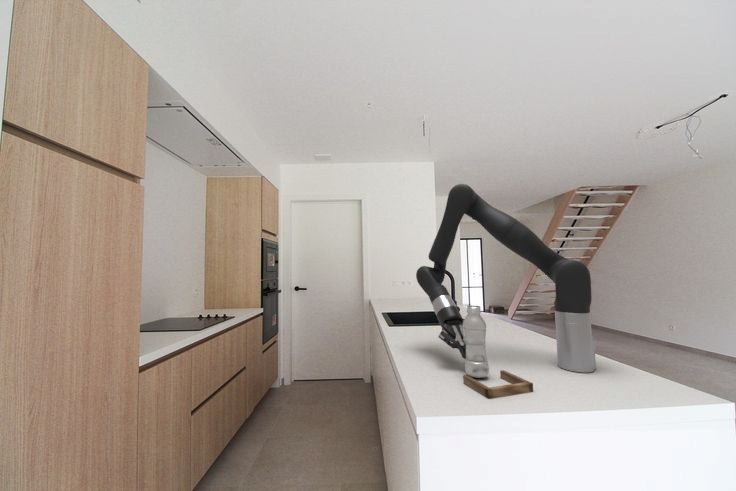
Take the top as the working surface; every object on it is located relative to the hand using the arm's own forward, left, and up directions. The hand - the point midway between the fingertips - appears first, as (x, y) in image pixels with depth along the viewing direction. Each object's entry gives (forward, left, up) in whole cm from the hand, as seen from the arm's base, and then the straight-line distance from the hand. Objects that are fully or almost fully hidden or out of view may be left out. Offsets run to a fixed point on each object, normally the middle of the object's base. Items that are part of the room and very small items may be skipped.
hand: (469, 359), depth 90 cm
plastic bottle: (0, +4, -4) cm, 6 cm away
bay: (0, +11, -4) cm, 12 cm away
